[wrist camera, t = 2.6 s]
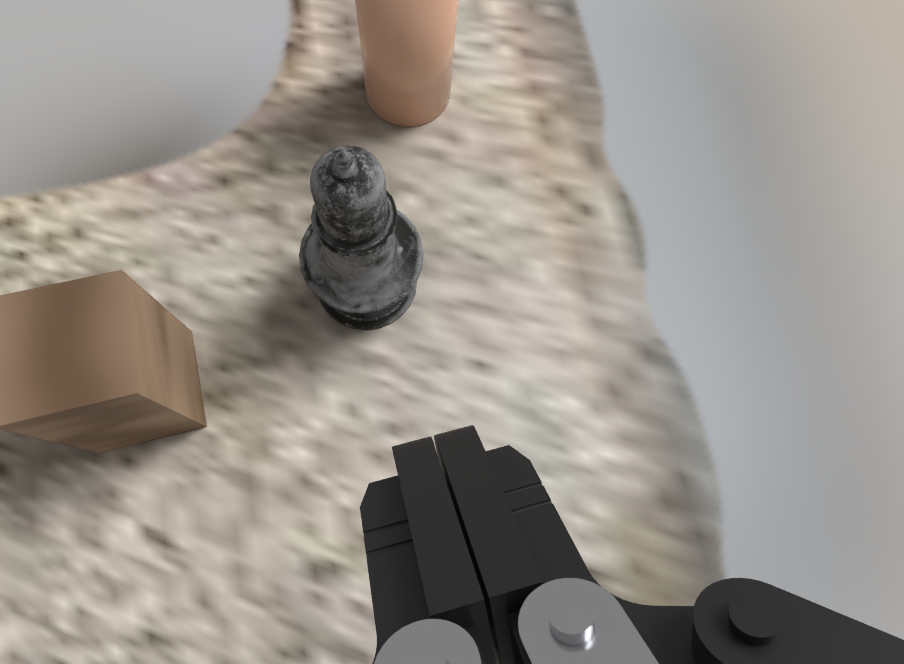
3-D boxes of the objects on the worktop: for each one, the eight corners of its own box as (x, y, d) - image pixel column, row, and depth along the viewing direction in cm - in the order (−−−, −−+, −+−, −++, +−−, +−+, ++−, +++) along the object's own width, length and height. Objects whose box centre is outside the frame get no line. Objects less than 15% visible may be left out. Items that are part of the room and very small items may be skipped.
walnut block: (100, 452, 30) (-9, 427, 22) (89, 354, 31) (-16, 298, 23) (206, 426, 30) (137, 393, 23) (191, 331, 32) (121, 269, 24)
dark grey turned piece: (289, 302, 32) (222, 180, 21) (347, 214, 34) (314, 57, 23) (388, 354, 32) (374, 259, 21) (441, 262, 34) (456, 126, 22)
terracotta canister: (367, 128, 36) (353, 3, 27) (363, 57, 37) (348, -84, 29) (453, 124, 36) (466, 0, 28) (446, 54, 38) (456, -85, 29)
